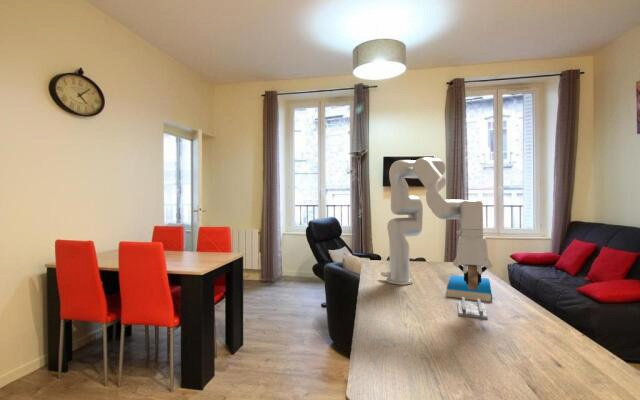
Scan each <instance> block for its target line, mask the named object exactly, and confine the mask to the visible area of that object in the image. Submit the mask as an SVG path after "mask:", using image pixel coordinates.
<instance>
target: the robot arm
mask: <svg viewBox="0 0 640 400" xmlns="http://www.w3.org/2000/svg"><path fill="white" fill-rule="evenodd" d="M445 172H446V164H445V162H444V161H443V160H441V159H440V158H435V157H419V158H418V159H416V160H413V159H412V160H411V159H399V160H396V161H394V162H393V163H391V166H390V168H389V173H388V175H389V176H388V177H389V183H390V210H391V213H392V214H393V215H395V216H396V215H397V216H407V217H395V218H391V219H390V220H389V221H388V222H387V225H386V228H387V234H388V235H387V236H388V241H389V242H388V245H389V248H388V249H389V271H387V272H386V271H381V272H380V276H381V277H385V278H386V282H387V283H388V284H393V285H399V286H404V285H405V286H407V285H410V284H412V283H413V281H414V280H413V279H412V278H410V245H409V242H408V240H407V239H406V238H408V237H409V238H410V237H417V236H419V235H420V234H422V230H423V215H424V214H423V211H424V208H423V202H422V200H421V199H420V197H419V196H416V195H410V194H409V191H410V190H409V189H410V187H409V185H408V182H407V181H406V179H418V180H419V182H421V183H422V185H423V187H424V188H425V189H426V193H425V200H426V205H427V207H428V208H429V209H430V210H431V212H432V213H433V215H434V216H436V217H437V218H438V219H439V220H459V222H460V223H459V227H460V228H459V229H456V235H460V236H459V237H458V239H457V245H456V247H457V248H456V257H455V259H454V260H453V263H452V265H453V266H455V267H456V268H458V269H459V270H461V272H462V273H463V276H464V281H466V284H468V271H467V265H470V266H477V267H478V285H479V283H481V278H482V274H483V273H484V272H486V271H487V270H489V269H492V268H493V266H494V265H493V264H492V262H491V261H490V260H489V253H488V252H489V251H488V242H487V239H486V237H484V211H483V210H484V206H483V202H482V200H477V199H444V198H443V197H442V196H441V194H440V193H439V192H440V191H441V190H442V189H443V188H444V187H445V186H446V184H447V180H446V177H445V176H444V174H445Z"/></svg>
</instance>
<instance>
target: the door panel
mask: <svg viewBox="0 0 640 400" xmlns="http://www.w3.org/2000/svg"><path fill="white" fill-rule="evenodd" d="M467 272H468V289H471V290H478V267H477V266H470V265H467Z"/></svg>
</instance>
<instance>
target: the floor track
mask: <svg viewBox="0 0 640 400" xmlns="http://www.w3.org/2000/svg"><path fill="white" fill-rule="evenodd" d="M457 301H458V302H457V304H458V305H457V307H458V309H457V310H458V316H459V317H464V318H465V317H467V318H473V319H474V318H475V319H482V320H488V314H487V310H486V305H485V303H484V302H482V300H480V299H478V298H477V300H476V301H469V300H466V298H465V297H462V298H461V300H460V299H459V300H457Z"/></svg>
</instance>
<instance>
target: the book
mask: <svg viewBox="0 0 640 400" xmlns="http://www.w3.org/2000/svg"><path fill="white" fill-rule="evenodd" d="M446 290H447V297H452V298H460V299H462V297H465V300H468V299H469V300H475V301H477V298H478V299H480V301H481V302H482V301H483V302H484V301H485V302H492V301H493V295H492V294H493V293H492V287H491V281H490V278H487V277H486V278H484V277H481V283H479V285H478V290H471V289H468V284H466V281H464V275H453V274H451V275H450V277H449V281H448V284H447V287H446Z"/></svg>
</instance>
